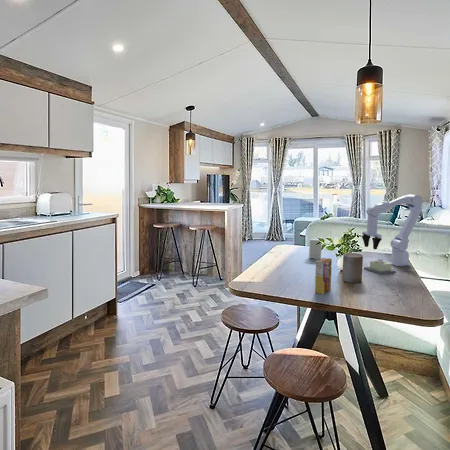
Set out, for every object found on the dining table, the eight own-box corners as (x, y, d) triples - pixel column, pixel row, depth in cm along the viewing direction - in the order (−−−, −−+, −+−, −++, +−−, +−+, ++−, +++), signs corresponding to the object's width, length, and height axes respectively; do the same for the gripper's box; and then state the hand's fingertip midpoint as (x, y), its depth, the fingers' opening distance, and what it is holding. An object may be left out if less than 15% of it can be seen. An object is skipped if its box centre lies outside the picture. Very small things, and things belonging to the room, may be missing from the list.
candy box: (322, 288, 175) (324, 257, 173) (331, 290, 173) (332, 258, 171) (314, 292, 169) (315, 260, 167) (322, 294, 166) (324, 262, 164)
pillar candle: (361, 279, 192) (362, 251, 190) (361, 284, 183) (363, 254, 181) (342, 277, 195) (343, 250, 193) (341, 282, 186) (342, 253, 184)
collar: (380, 266, 215) (380, 260, 214) (391, 270, 207) (391, 263, 207) (369, 268, 212) (370, 261, 211) (380, 271, 204) (380, 264, 204)
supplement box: (320, 259, 236) (321, 240, 234) (309, 259, 238) (310, 239, 236) (320, 257, 243) (321, 238, 242) (308, 256, 245) (309, 238, 243)
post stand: (380, 267, 217) (381, 256, 216) (395, 272, 206) (396, 261, 205) (363, 268, 213) (364, 258, 213) (378, 274, 202) (379, 262, 201)
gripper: (358, 224, 227) (357, 246, 229) (375, 227, 213) (373, 250, 215) (368, 224, 229) (366, 245, 231) (385, 227, 216) (383, 249, 217)
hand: (370, 247), depth 223 cm, fingers open, 7 cm apart
